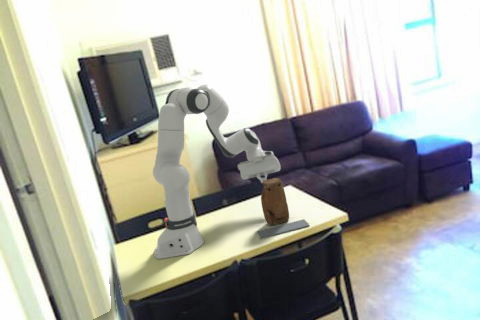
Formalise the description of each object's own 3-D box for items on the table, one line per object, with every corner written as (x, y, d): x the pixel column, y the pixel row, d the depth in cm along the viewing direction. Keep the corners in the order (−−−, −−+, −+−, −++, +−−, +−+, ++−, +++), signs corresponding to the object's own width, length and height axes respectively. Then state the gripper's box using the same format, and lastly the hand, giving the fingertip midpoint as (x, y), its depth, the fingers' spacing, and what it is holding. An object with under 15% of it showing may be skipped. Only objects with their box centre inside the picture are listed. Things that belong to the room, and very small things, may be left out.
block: (284, 216, 197) (277, 176, 193) (291, 220, 190) (284, 179, 186) (264, 223, 194) (255, 182, 190) (270, 227, 187) (262, 186, 183)
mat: (260, 238, 178) (260, 237, 178) (257, 232, 185) (257, 231, 185) (309, 226, 181) (309, 225, 180) (304, 220, 188) (304, 219, 188)
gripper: (236, 160, 207) (243, 183, 200) (275, 150, 209) (284, 173, 202) (236, 166, 212) (243, 189, 205) (275, 157, 215) (283, 180, 207)
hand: (264, 181), depth 204 cm, fingers closed
